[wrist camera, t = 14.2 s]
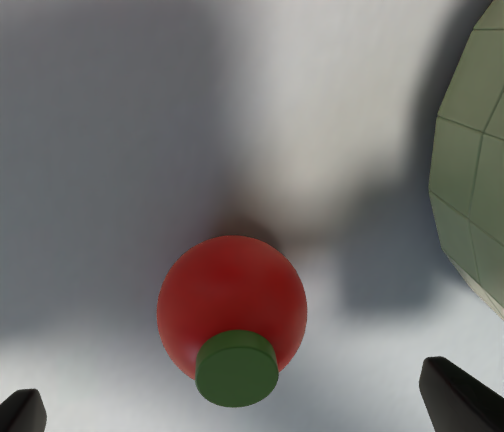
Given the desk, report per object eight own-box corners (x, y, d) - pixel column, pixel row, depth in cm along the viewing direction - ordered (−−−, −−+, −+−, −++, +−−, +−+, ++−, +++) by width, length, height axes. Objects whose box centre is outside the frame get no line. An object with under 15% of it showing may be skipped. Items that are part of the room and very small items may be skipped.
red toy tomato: (288, 316, 15) (319, 434, 10) (170, 321, 14) (150, 446, 10) (296, 210, 13) (338, 299, 9) (160, 212, 12) (132, 307, 8)
